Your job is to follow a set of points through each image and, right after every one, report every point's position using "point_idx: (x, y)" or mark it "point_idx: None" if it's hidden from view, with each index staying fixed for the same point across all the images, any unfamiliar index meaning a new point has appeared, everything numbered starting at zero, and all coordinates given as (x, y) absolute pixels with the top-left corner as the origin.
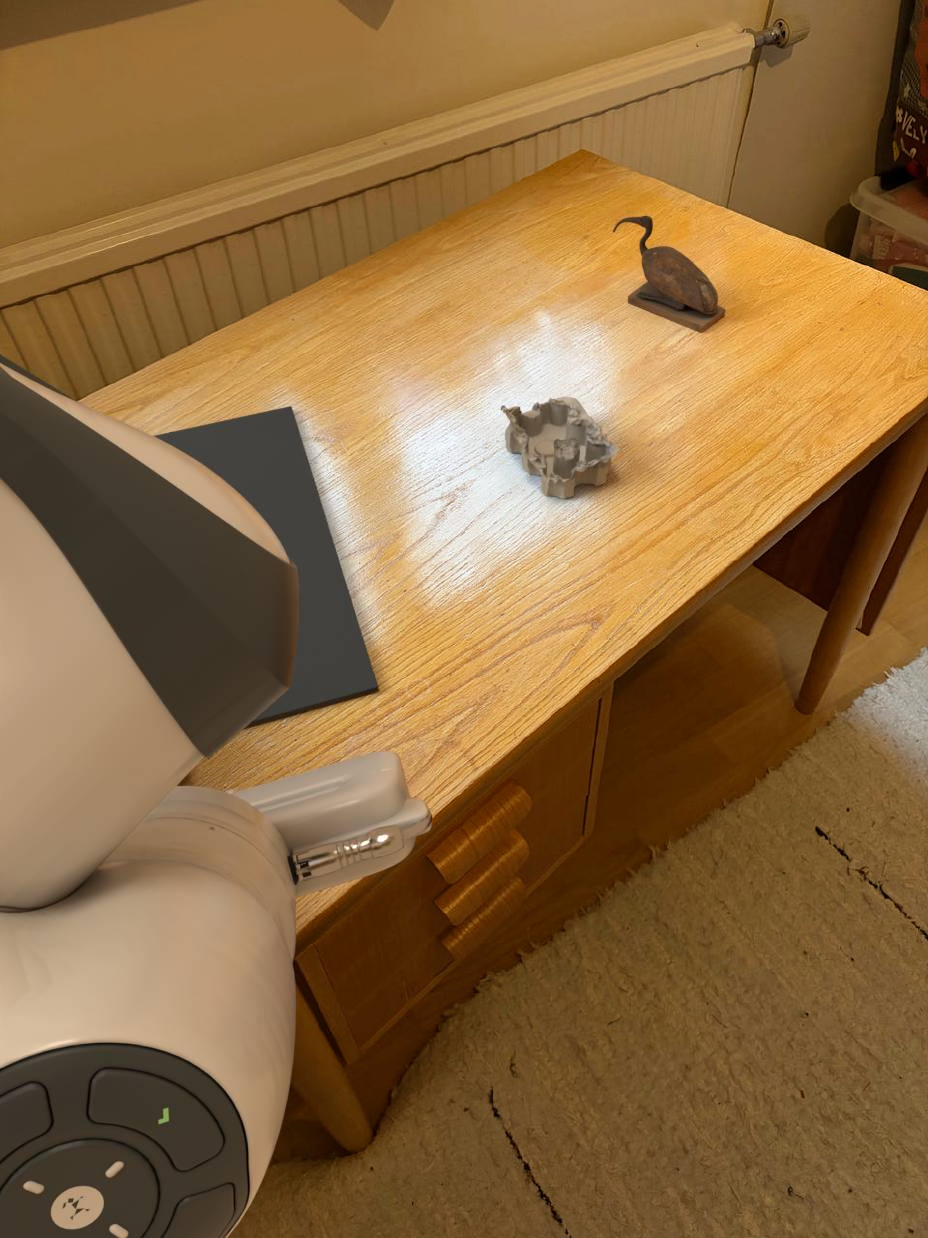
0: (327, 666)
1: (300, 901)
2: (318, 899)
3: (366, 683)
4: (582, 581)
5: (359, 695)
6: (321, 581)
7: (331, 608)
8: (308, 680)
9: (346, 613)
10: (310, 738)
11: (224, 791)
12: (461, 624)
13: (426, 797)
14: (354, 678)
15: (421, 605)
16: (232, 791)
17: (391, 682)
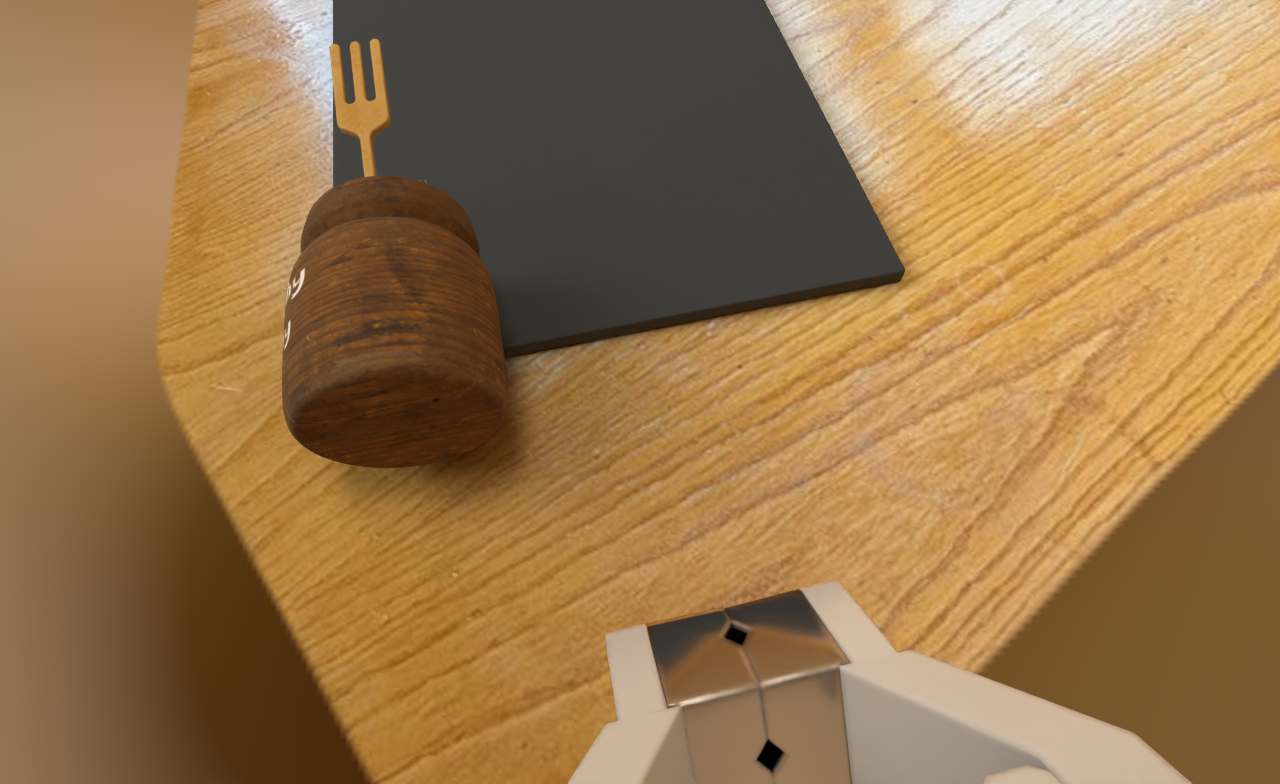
0: (792, 223)
1: None
2: None
3: (880, 262)
4: (1264, 106)
5: (863, 286)
6: (757, 71)
7: (784, 118)
8: (757, 247)
9: (815, 129)
10: (770, 366)
11: (799, 594)
12: (1042, 166)
13: (1057, 523)
14: (853, 250)
15: (952, 128)
16: (859, 611)
17: (923, 265)
